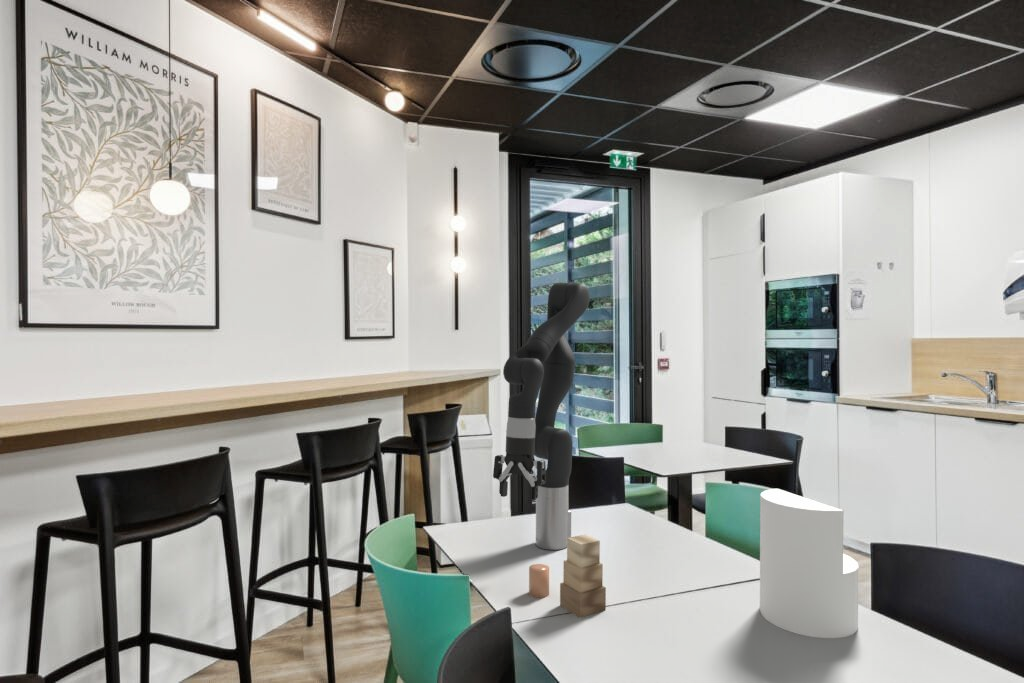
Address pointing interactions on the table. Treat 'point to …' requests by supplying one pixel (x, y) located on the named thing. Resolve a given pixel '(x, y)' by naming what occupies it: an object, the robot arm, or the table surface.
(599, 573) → the tower mid
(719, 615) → the table surface
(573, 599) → the tower base
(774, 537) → the cylinder
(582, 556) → the tower top
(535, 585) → the cylinder
